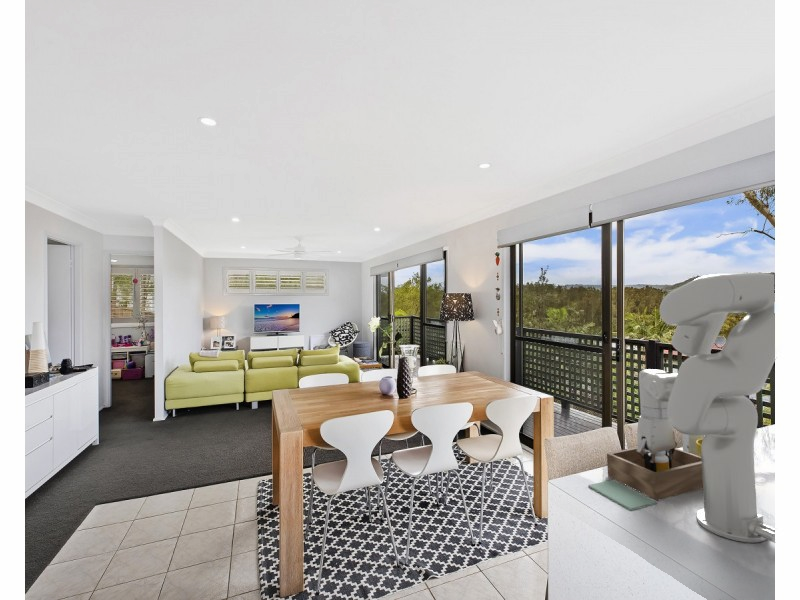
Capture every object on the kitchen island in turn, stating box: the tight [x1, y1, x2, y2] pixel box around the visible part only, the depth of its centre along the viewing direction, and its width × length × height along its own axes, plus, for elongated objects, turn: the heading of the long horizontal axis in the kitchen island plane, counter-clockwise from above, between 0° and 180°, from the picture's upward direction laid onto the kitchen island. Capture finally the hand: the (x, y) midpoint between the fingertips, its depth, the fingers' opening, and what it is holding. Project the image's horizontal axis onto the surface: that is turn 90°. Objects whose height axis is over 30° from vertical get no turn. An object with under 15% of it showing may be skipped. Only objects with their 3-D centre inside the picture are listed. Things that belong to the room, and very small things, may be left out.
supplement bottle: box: [648, 451, 669, 472], centre depth 114 cm, size 5×5×10 cm
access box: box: [606, 446, 703, 502], centre depth 114 cm, size 16×22×7 cm
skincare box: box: [682, 433, 705, 456], centre depth 126 cm, size 6×4×12 cm
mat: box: [587, 479, 658, 511], centre depth 107 cm, size 14×9×1 cm, turn 18°
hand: (658, 472), depth 114 cm, fingers closed on supplement bottle, 5 cm apart
